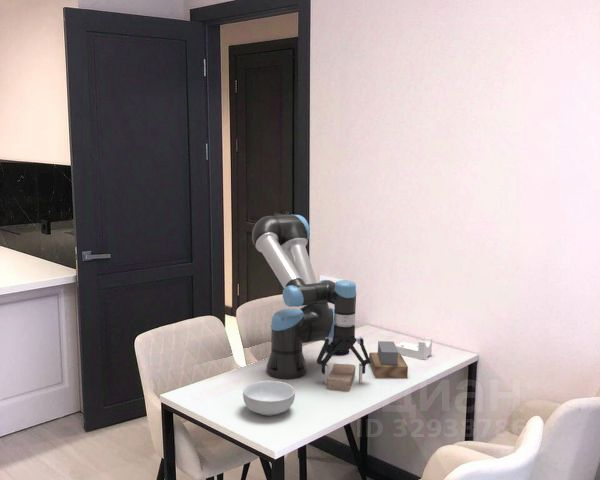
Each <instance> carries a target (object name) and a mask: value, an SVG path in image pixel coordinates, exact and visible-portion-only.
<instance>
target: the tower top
mask: <svg viewBox="0 0 600 480" xmlns="http://www.w3.org/2000/svg"><path fill="white" fill-rule="evenodd" d="M377 353H378V356H379V359H380V363H381V365H397V363H398V351H397V349H396V344H395V342H394V341H389V340H388V341H385V340H382V341H381V340H380V341H379V340H378V341H377Z"/></svg>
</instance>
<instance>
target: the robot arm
mask: <svg viewBox="0 0 600 480" xmlns="http://www.w3.org/2000/svg"><path fill="white" fill-rule="evenodd" d="M310 235H311V234H310V225H309V223H308V220H307V219H306V218H305V217H304V216H302V215H300V214H286V215H285V214H284V215H265V216H263V217H261V218H260V219H258V221H257V222H256V223H255V224H254V226H253V228H252V233H251V237H252V239H251V241H252V243H253V245H254V247H255V249H256V250H257V251H258V252H259V253H262V255H263V257H264V259H265V260H266V262H267V264H268V265H269V267H270V268H271V269H272V271H273V273H274V275H275V276H276V277H277V279H278V281H279V283H280V285H281V286H282V287H283V290H282V299H283V302H284V305H286V306H287V307H290V308H284V309H281V310H278V311H276V312H275V313H273V315H272V316H271V324H270V328H271V331H270V332H271V333H270V335H271V338H270V339H271V341H270V343H271V345H270V346H271V348H270V350H271V352H270V355H269V357H268V361H267V364H266V367H265V368H266V371H265V372H266V374H267V375H268V376H270V377H273V378H277V379H284V380H287V379H288V380H290V379H297V378H301V377H304V376H305V375H306V374H307V369H308V368H307V363H306V360H305V357H304V354H303V344H306V343H307V344H308V343H314V342H319V341H324V344H323V345H322V347H321V350H320V352H319V354H318V356H317V359H316V363H317V365H321V374H322V375H323V377H324V378H323V381H324V384H326V385H327V378H328V364H327V363H329V361H330V360H331V359H332V357H334V353H335V352H336V351H337V350H338V349H339V350H349V351H351V352H352V353H353V354H354V356H355V357H356V358H357V360H358V361H359V365H358V382H359V384H363V374H366V366H367V365H369V364H370V363H371V362H370V359H369V353H368V352H367V350H366V347H365V344H364V340H365V339H364V338H363V337H362V336H359V337H356V325H355V324H356V306H357V303H356V302H357V285H356V283H355V282H354V281H351V280H342V279H341V280H337V281H336V282H334V281H332V280H330V279H321V280H319V281H318V282H317V279H316V275H315V272H314V270H313V267H312V264H311V259H310V257H309V254H308V250H307V248H306V246H307V245H308V241H309V238H310ZM329 303H330V304H332V305H334V308H332V307H330V306H329ZM291 307H300V308H291ZM332 341H333V343H334V346H333V347H332V349H331V350H330V351H329V353H326V350H327V348H328V344H330V343H331V342H332ZM356 342H357V344H358V345H359V346H360V349H361V351H362V353H363V356H364V358H365V359H364V358H363V357H362V356H361V354H360V353H359V352H358V350H357V349H356V348H355V347H354V345H355V343H356ZM325 353H326V355H325Z"/></svg>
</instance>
